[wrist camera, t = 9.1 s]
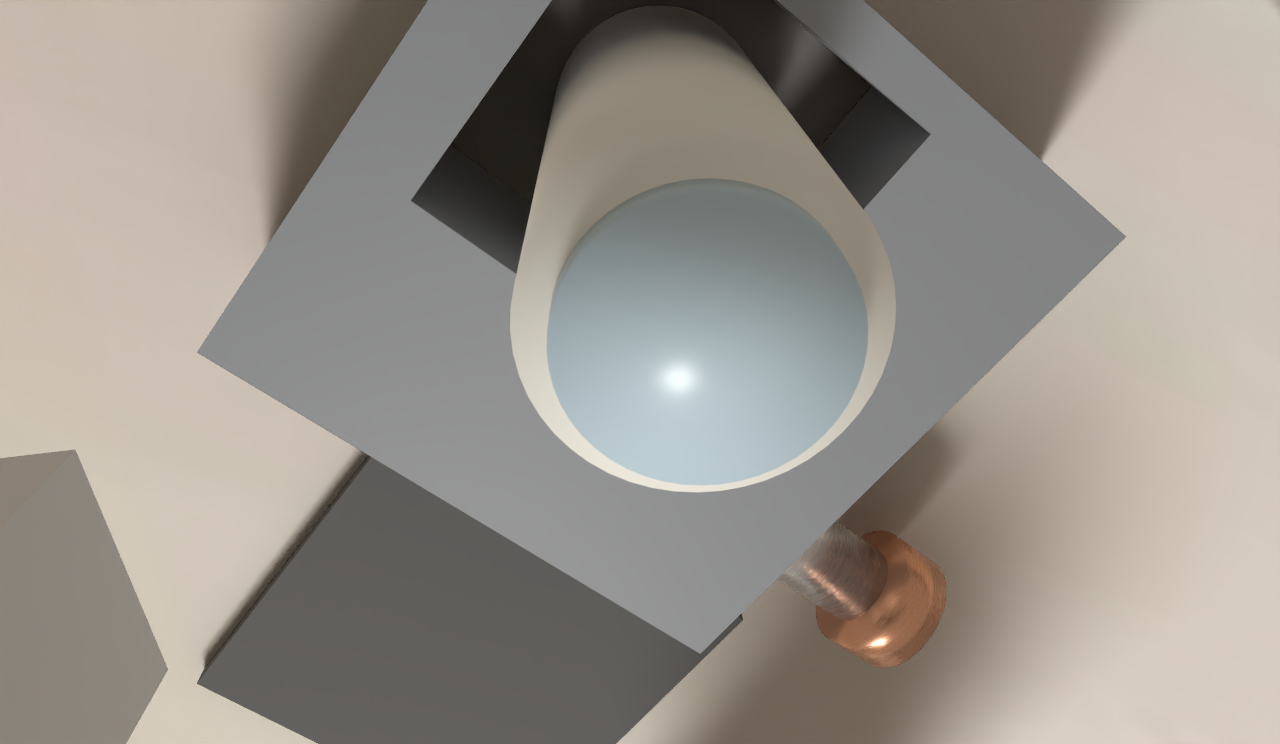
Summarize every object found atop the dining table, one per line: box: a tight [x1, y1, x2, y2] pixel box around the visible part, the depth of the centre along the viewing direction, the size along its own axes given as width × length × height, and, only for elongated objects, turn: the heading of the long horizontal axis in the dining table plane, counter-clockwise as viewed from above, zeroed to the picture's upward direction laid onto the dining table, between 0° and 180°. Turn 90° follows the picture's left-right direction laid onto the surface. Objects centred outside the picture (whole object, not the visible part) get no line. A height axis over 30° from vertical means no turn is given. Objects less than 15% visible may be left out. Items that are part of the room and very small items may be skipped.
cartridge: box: [510, 5, 896, 492], centre depth 19 cm, size 5×5×14 cm
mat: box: [197, 456, 743, 744], centre depth 32 cm, size 12×12×1 cm
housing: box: [197, 0, 1126, 654], centre depth 24 cm, size 14×14×5 cm
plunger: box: [777, 521, 946, 668], centre depth 27 cm, size 10×3×3 cm, turn 52°
